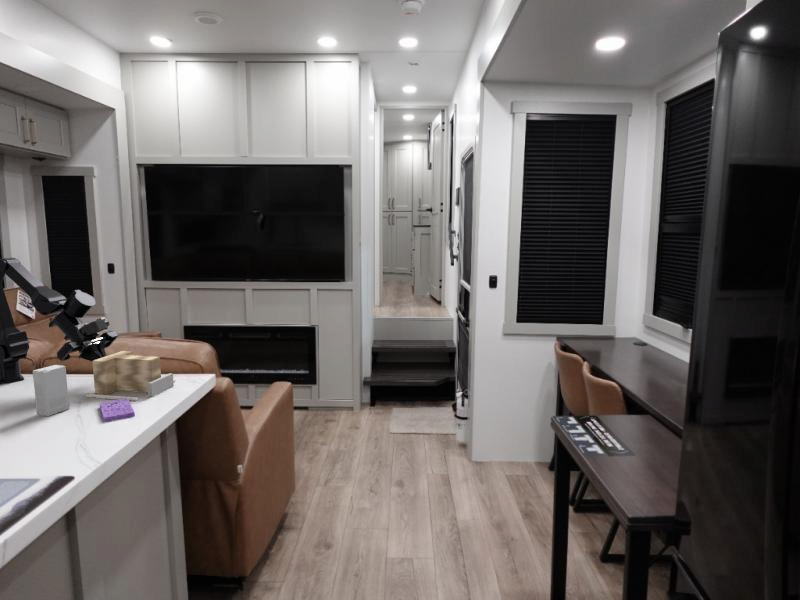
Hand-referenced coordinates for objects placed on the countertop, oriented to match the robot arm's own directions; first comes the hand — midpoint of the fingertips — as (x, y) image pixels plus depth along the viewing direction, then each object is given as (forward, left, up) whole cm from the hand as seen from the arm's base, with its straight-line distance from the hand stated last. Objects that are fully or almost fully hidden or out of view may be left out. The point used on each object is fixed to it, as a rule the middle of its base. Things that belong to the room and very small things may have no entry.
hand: (107, 365), depth 148 cm
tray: (+8, +5, -7) cm, 12 cm away
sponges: (+24, -5, -8) cm, 25 cm away
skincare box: (+13, -17, -7) cm, 22 cm away
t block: (+7, +5, -7) cm, 11 cm away
